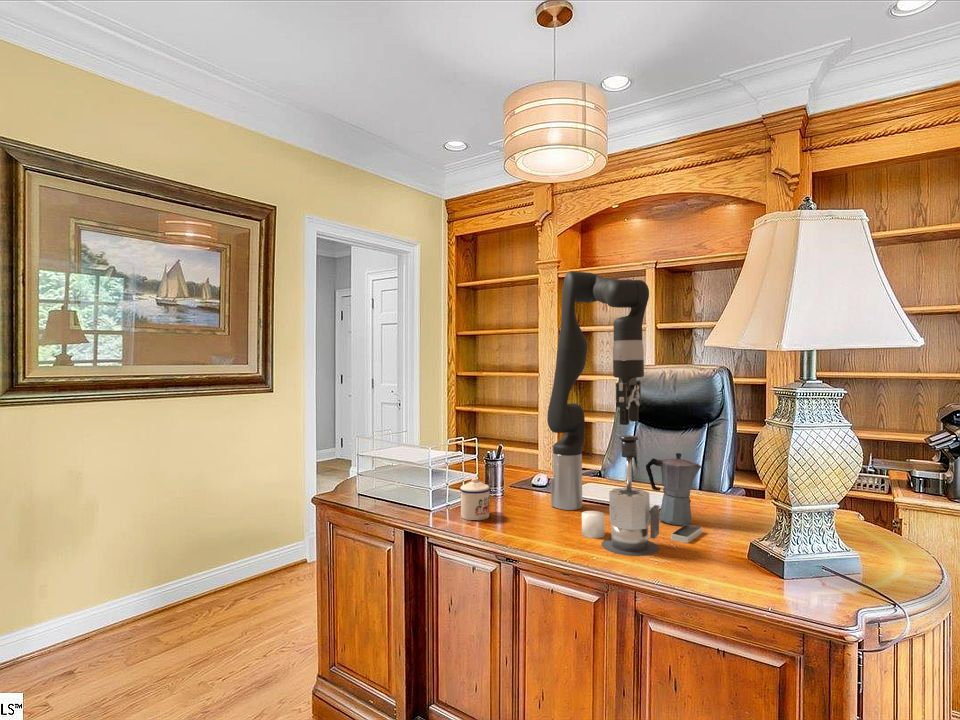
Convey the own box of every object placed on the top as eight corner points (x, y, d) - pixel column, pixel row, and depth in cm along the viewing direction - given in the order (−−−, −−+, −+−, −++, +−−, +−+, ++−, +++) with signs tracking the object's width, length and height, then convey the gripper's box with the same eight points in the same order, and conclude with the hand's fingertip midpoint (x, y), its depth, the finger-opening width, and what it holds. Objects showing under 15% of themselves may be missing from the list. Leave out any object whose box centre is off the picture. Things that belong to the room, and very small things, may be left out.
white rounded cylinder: (578, 537, 144) (578, 515, 144) (586, 531, 149) (586, 509, 149) (600, 541, 141) (600, 518, 141) (607, 534, 146) (607, 512, 146)
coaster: (593, 551, 133) (593, 549, 133) (611, 535, 145) (611, 533, 145) (651, 561, 126) (651, 559, 126) (664, 543, 138) (664, 542, 138)
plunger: (617, 493, 135) (616, 437, 135) (622, 489, 139) (622, 435, 139) (635, 495, 133) (635, 438, 133) (640, 491, 136) (640, 436, 136)
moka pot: (705, 528, 151) (704, 456, 151) (648, 525, 154) (647, 455, 154) (698, 518, 160) (698, 450, 160) (644, 515, 163) (644, 449, 163)
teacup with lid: (478, 523, 157) (478, 483, 157) (454, 518, 163) (453, 479, 163) (501, 513, 167) (500, 475, 167) (477, 508, 172) (476, 472, 172)
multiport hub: (670, 542, 140) (670, 533, 140) (686, 532, 148) (686, 523, 148) (687, 546, 137) (687, 537, 137) (702, 535, 146) (702, 526, 146)
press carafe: (606, 548, 134) (606, 493, 134) (617, 537, 142) (617, 486, 142) (652, 556, 128) (651, 499, 128) (661, 545, 136) (660, 491, 136)
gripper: (621, 359, 144) (622, 419, 144) (604, 358, 132) (605, 425, 132) (650, 358, 140) (651, 420, 140) (635, 358, 128) (636, 426, 128)
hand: (629, 422), depth 136 cm, fingers open, 8 cm apart
